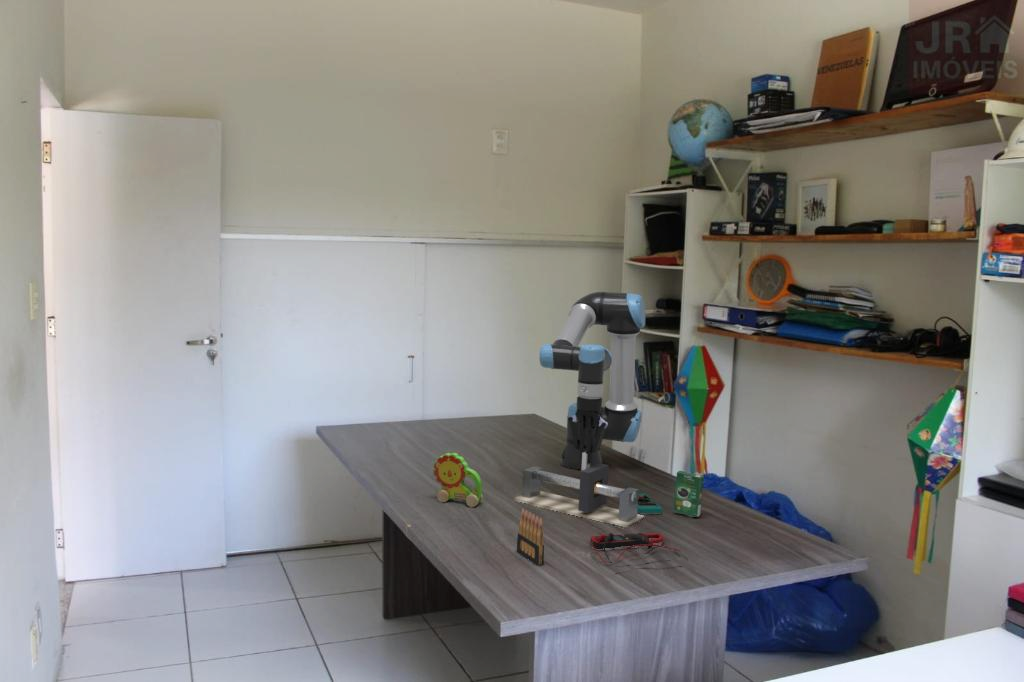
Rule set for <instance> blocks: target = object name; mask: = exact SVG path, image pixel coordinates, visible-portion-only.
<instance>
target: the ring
mask: <svg viewBox="0 0 1024 682" xmlns="http://www.w3.org/2000/svg"><path fill="white" fill-rule="evenodd" d="M609 467H610V465H609V464H605V463H602V464H601V463H600V464H597V465H595V466H592V467H590V468H587V469H584V470H582V471H581V470H579V473H580V474H579V475H580V476H579V479H580V489H578V490H579V492H578V500H579V508H578V511H583V512H590V511H592V510H594V509H596V508H598V507H600V506H605V505H606V504H607V502H608V496H606V495H602V494H594V483H595V482H599V483H600V484H603V485H608V486H609V469H610V468H609Z"/></svg>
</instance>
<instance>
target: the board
mask: <svg viewBox="0 0 1024 682" xmlns="http://www.w3.org/2000/svg"><path fill="white" fill-rule="evenodd" d="M513 501H514V502H516V501H517V503H520V502H522V503H521V504H524V503H526V504H525V505H528V504H530V505H529V506H532V505H533V507H536V506H537V507H536V508H540V507H541V509H544V508H545V510H548V509H550V510H549V511H552V510H554V511H553V512H556V511H558V512H557V513H560V512H561V513H562V514H564V513H566V514H565V515H568V514H570V515H569V516H572V515H575V516H574V517H576V516H578V517H577V518H580V517H583V518H582V519H584V518H587V519H586V520H588V519H592V520H596V521H600V522H606V523H610V524H615V525H619V526H623V527H627V526H628V525H630V524H632V523H634V522H636V521H638V520H639V519H641V518H643V517H644V518H645V515H640V514H638V513H637V518H635V519H633V520H631V521H629V522H625V521H620V520H618V519H619V508H613V507H609V506H607V505H602V506H600V507H598V508H596V509H594V510H592V511H590V512H583V511H578V508H579V499H577V498H571V497H569V496H563V495H558V494H557V493H556V494H555V493H551V492H547V491H543V490H541V491H540V494H539V495H537V496H534V497H532V498H527V497H523V496H522V494H520V495H517V496H515V497H514V498H513ZM561 513H560V514H561ZM592 520H591V521H592ZM596 521H595V522H596ZM600 522H599V523H600Z"/></svg>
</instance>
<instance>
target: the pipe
mask: <svg viewBox="0 0 1024 682" xmlns="http://www.w3.org/2000/svg"><path fill="white" fill-rule="evenodd" d="M542 482H546V483H550V484H555V485H559V486H563V487H568V488H572V489H576V490H579V489H580V478H575V477H571V476H567V475H561V474H558V473H554V472H548V471H545V470H542V467H538V466H530V467H528V468H525V469H523V470H522V488H521V491H522V492H521V495H522V496H523V497H527V498H532V497H534V496H537V495H539V494H540V491H542V490H541V489H542V486H541V485H542ZM639 491H640V489H639V488H633V487H628V488H621V487H616V486H612V485H609V484H608V485H603V484H600V483H599V482H595V483H594V494H602V495H606V496H607V497H611V498H616V499H618V500H619V505H618V509H619V519H618V520H620V521H625V522H629V521H631V520H633V519H635V518H637V514H638V513H637V508H638V494H639Z"/></svg>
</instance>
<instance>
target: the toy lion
mask: <svg viewBox="0 0 1024 682" xmlns="http://www.w3.org/2000/svg"><path fill="white" fill-rule="evenodd" d="M432 474H433V477H435V481H436V482H437V483H438V484H440V485H441V486H440V487H441V490H439V491H438V492H437V495H436V498H437V500H438V501H439V502H440V503H442V502H444V503H446V502H448V500H451V499H456V498H457V499H458V498H459V499H463V500H465V504H466V505H467V506H468V507H470V508H475V507H476V506H477V505H479V504H480V503H482V501H483V500H484V496H483V493H482V491H483V485H482V484H483V482H482V479H481V476H480V475H479V473H478V472H477V471H475V470H474V469H472V468H470V467H469V464H468V462H467V461H466V460H465V458H464V457H463V456H460V455H459V453H456V452H453V453H450V452H447V453H445V454H443V455H441V456H438V457H437V459H436V461H434V463H433V470H432ZM466 477H468V478H471V479H472V480H473V483H474V490H473V489H472V488H471V487H470V486H468V485H467V484H466V483H465V479H466Z"/></svg>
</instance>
